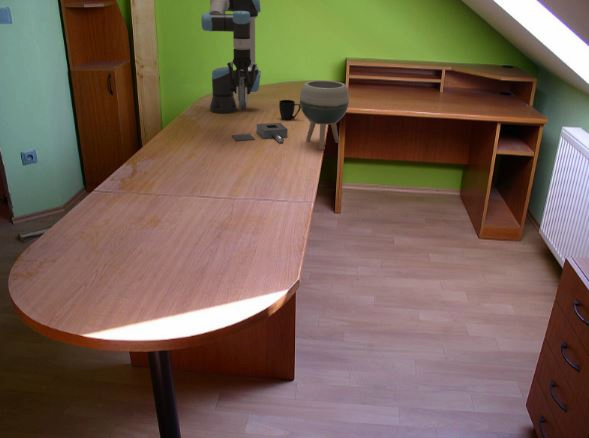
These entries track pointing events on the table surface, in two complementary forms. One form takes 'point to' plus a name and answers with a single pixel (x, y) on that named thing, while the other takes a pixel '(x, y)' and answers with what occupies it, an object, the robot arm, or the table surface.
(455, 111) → the table surface
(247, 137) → the mat
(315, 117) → the planter
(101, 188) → the table surface
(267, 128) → the block
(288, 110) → the mug
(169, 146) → the table surface
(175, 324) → the table surface
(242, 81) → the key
